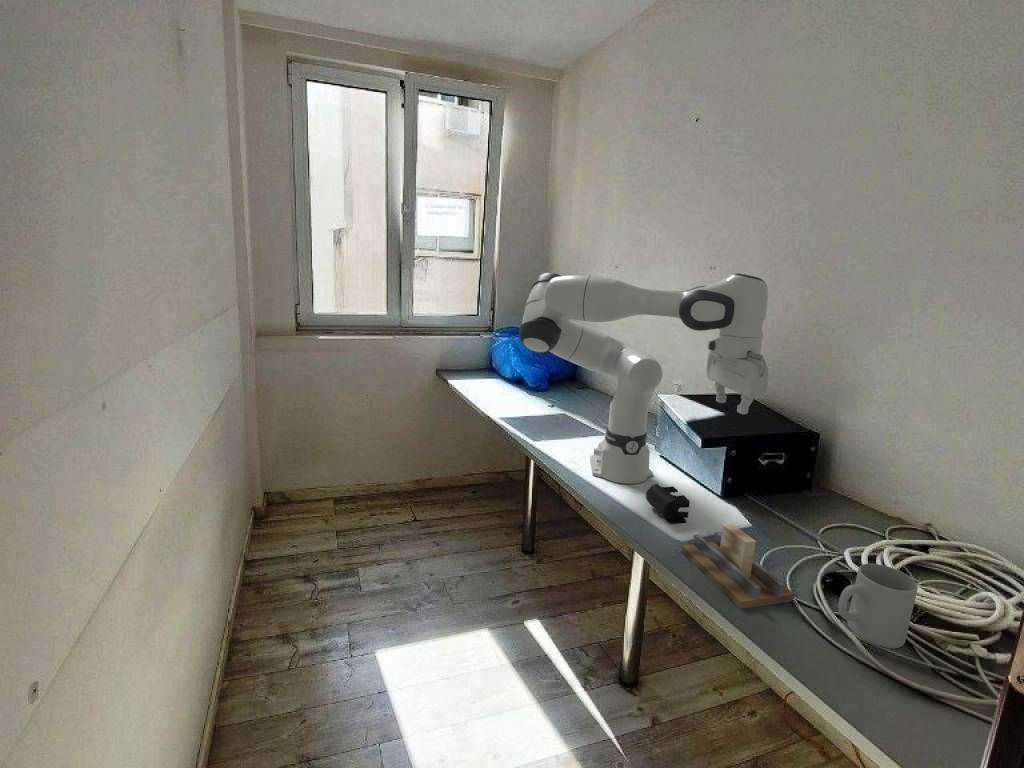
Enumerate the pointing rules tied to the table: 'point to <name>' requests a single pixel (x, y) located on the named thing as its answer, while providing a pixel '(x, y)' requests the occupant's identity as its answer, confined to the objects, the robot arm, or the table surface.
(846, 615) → the mug
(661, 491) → the black notched cylinder
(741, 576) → the track board
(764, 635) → the table surface
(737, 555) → the beige rectangular block
